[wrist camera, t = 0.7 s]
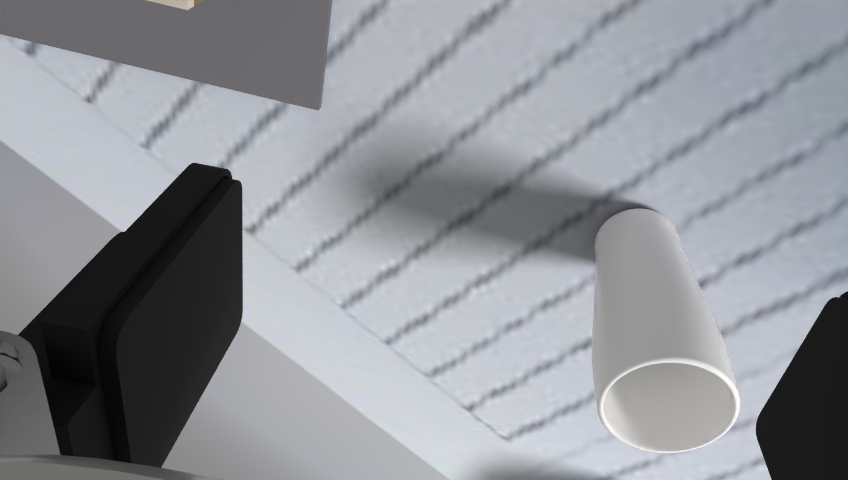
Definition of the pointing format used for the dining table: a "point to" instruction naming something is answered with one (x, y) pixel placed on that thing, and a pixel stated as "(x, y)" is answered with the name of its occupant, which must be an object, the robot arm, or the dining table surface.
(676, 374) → the drinking glass
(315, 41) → the rubber mat
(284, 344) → the dining table surface
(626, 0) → the dining table surface
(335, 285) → the dining table surface
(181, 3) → the wooden box
